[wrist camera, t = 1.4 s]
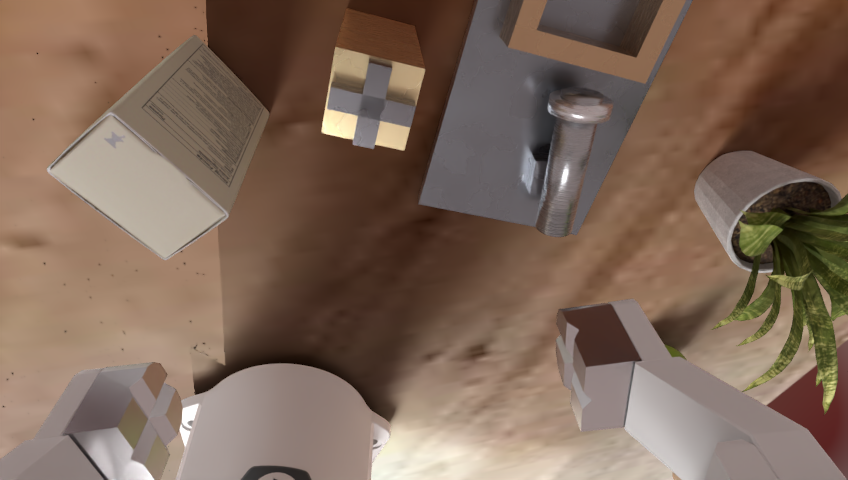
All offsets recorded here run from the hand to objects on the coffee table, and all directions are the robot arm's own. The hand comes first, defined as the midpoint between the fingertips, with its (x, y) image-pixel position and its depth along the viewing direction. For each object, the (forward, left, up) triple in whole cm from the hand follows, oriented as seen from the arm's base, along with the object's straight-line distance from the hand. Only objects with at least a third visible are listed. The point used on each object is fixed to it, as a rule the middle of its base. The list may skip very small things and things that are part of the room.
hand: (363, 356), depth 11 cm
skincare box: (-5, +9, -25) cm, 27 cm away
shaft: (-3, -13, -24) cm, 27 cm away
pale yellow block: (0, 0, -25) cm, 25 cm away
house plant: (-4, -26, -25) cm, 36 cm away
